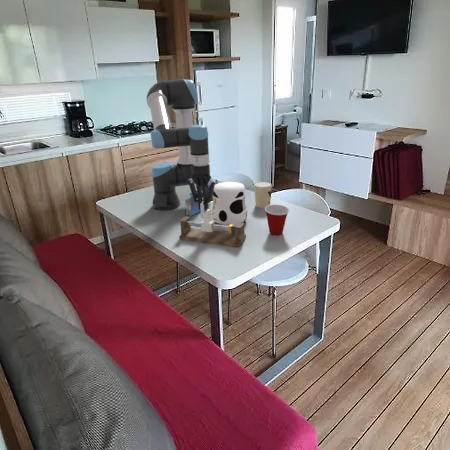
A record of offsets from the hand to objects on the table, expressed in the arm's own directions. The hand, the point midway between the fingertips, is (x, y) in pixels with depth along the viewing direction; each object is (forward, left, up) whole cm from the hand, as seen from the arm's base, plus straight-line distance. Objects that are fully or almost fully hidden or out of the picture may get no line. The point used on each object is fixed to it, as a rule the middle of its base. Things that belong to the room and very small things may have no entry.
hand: (203, 216), depth 159 cm
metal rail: (+3, 0, -6) cm, 7 cm away
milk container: (+4, +20, -10) cm, 23 cm away
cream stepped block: (+1, 0, -6) cm, 6 cm away
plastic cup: (+29, +13, -10) cm, 34 cm away
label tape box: (-18, +26, -10) cm, 33 cm away
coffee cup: (+14, +45, -10) cm, 49 cm away
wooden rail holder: (+3, 0, -10) cm, 11 cm away
